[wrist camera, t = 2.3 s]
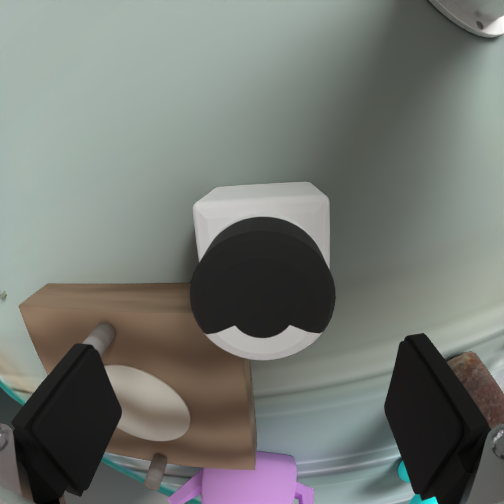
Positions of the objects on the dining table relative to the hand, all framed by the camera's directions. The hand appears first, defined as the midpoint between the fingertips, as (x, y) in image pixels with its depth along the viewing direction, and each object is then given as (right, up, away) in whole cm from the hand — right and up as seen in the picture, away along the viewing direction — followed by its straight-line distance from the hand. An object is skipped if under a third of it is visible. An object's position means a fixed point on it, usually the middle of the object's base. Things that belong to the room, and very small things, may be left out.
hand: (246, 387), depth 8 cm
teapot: (-1, -25, +25) cm, 36 cm away
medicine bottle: (+1, +6, +15) cm, 16 cm away
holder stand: (-10, -8, +20) cm, 24 cm away
